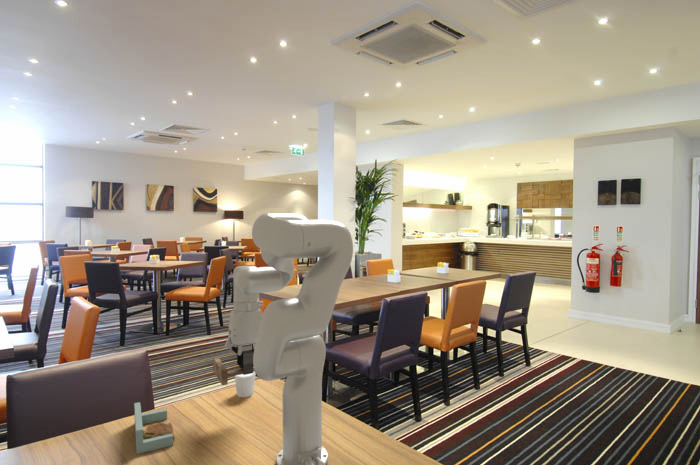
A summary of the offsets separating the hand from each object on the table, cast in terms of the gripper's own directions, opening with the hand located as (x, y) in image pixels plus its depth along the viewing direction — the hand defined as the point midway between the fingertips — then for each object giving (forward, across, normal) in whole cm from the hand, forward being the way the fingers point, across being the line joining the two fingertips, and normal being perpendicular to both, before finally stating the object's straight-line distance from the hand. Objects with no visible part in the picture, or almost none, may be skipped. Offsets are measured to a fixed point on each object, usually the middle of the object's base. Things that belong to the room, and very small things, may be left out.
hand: (246, 365), depth 126 cm
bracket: (+15, +26, 0) cm, 30 cm away
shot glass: (+15, -3, -14) cm, 21 cm away
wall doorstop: (+2, +4, 0) cm, 4 cm away
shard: (+15, +23, 0) cm, 28 cm away
